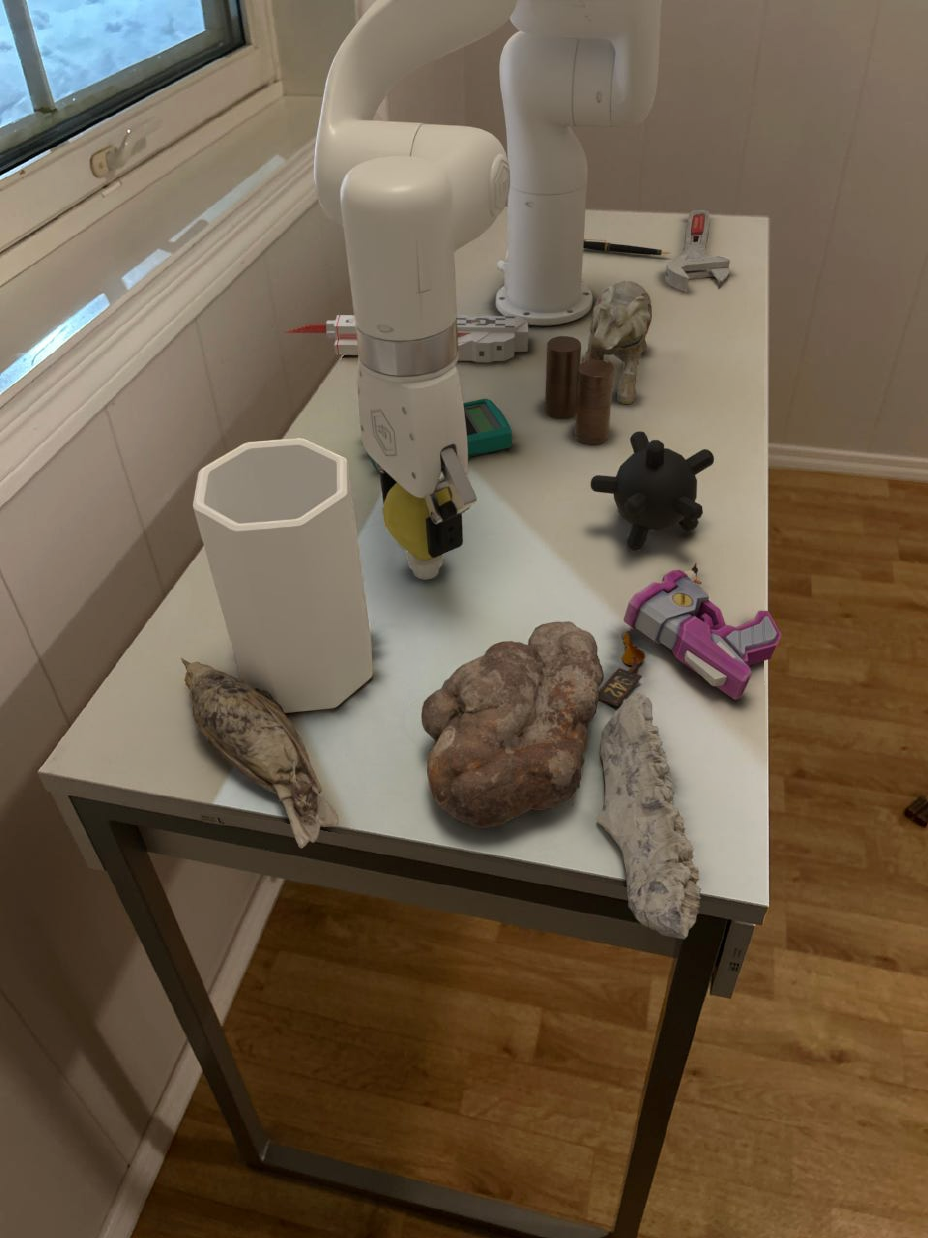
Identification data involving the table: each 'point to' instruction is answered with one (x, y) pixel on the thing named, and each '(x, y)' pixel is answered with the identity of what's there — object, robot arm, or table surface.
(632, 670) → the key tag
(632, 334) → the figurine
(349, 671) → the cup
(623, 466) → the toy ball
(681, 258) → the adjustable wrench
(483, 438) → the digital multimeter
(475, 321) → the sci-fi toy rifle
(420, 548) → the yellow light bulb
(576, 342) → the peg far
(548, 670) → the rock
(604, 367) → the peg mid
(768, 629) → the toy gun
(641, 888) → the fossil
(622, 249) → the fountain pen
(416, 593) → the table surface
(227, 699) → the bird model
